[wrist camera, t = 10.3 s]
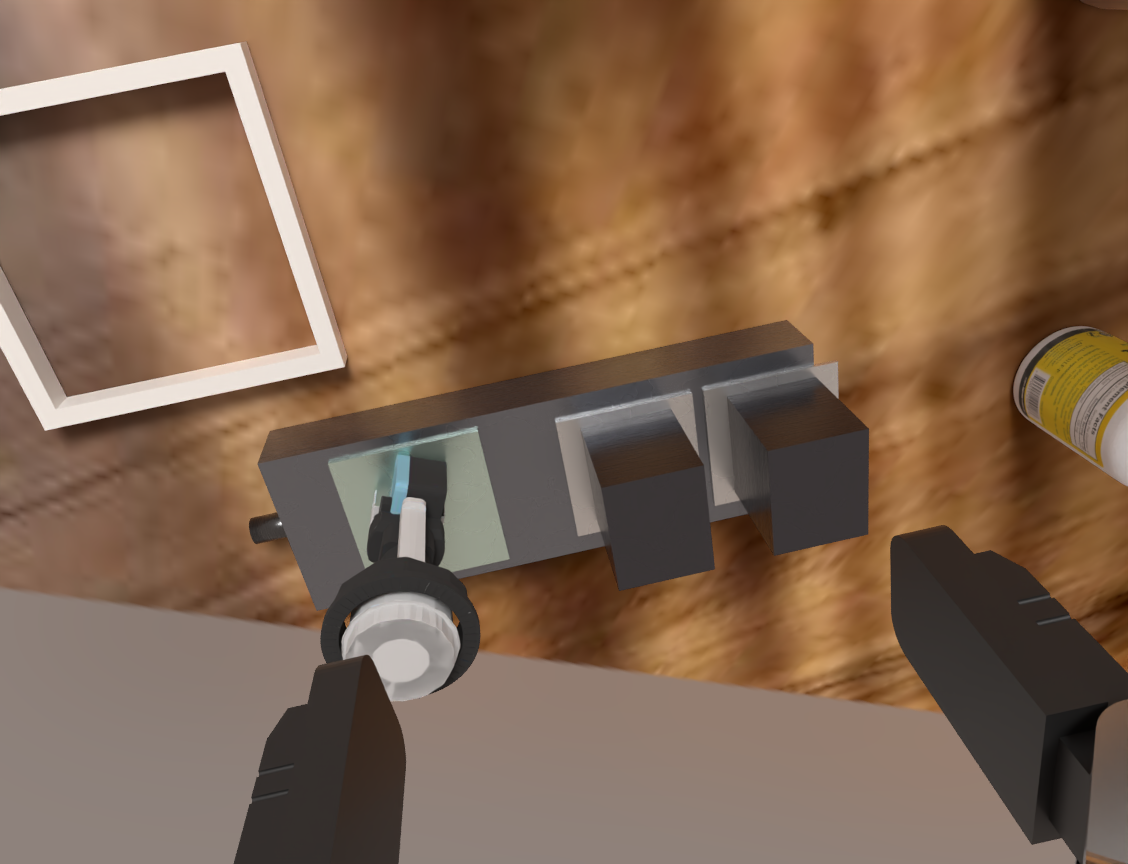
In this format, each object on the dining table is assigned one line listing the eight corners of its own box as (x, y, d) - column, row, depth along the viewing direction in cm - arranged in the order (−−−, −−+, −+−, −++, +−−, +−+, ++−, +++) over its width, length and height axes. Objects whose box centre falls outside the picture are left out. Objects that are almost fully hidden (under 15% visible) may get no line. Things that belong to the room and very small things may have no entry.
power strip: (807, 315, 38) (894, 388, 31) (812, 462, 42) (890, 558, 35) (230, 439, 37) (181, 545, 30) (288, 579, 41) (257, 702, 34)
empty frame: (246, 41, 30) (239, 42, 29) (347, 356, 36) (344, 366, 35) (-105, 109, 30) (-125, 113, 29) (56, 417, 36) (45, 430, 35)
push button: (451, 582, 39) (456, 753, 30) (333, 567, 37) (301, 742, 28) (481, 457, 36) (497, 606, 27) (355, 437, 35) (328, 586, 26)
